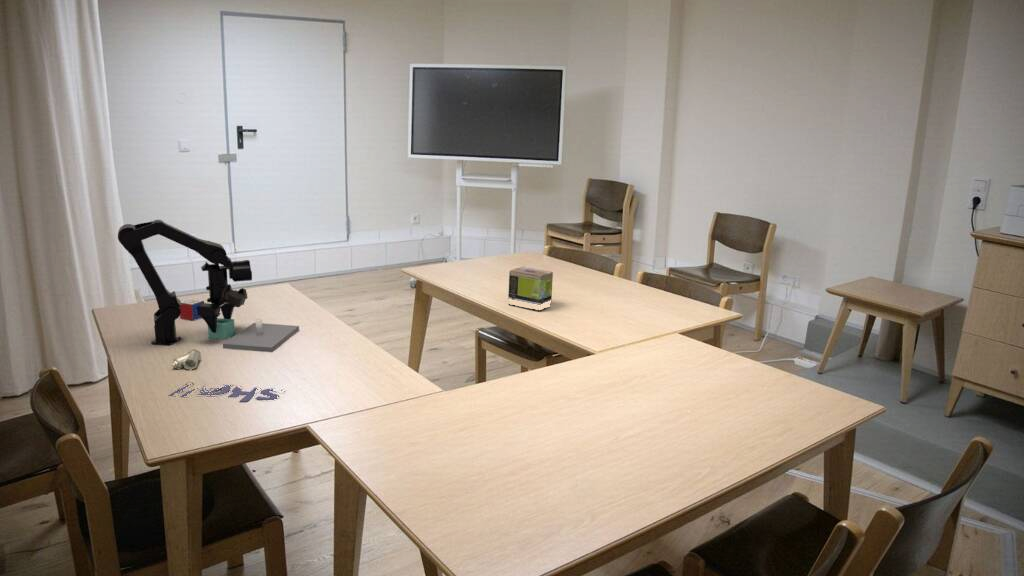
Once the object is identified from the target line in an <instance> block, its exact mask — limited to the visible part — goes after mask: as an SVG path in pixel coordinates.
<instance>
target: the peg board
mask: <svg viewBox="0 0 1024 576" xmlns="http://www.w3.org/2000/svg"><path fill="white" fill-rule="evenodd" d="M299 331H300V325H291V324H276V323H263V319H262V318H257V319H255V322H253V323H251V324H250V325H248V326H247V327H245V328H244V329H243V330H241V331H240V332H238V333H235V334H234V335H232V336H231V337H230V338H228V339H227V341H225V342H223V343H222V349H230V350H241V351H242V350H243V351H253V352H257V351H258V352H268V353H272V352H274V351H275V350H276V349H277V348H279V347H280V346H281V345H283V344H284V343H285V342H286V341H288V340H289V339H290V338H292V337H293V336H294V335H295V334H296V333H297V332H299Z"/></svg>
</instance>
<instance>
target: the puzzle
mask: <svg viewBox="0 0 1024 576" xmlns="http://www.w3.org/2000/svg"><path fill="white" fill-rule="evenodd" d="M204 303H205V300H199V299H194V298H190V299H186V300H185V301H181V306H182V307H180V309H181V314H180V316H179V318H180V319H181V318H182V320H187V319H188V320H189V321H193V320H194V321H196V320H198V318H199V319H201V316H199V315H197V311H196V308H197V307H198V306H200V305H202V304H204ZM195 319H196V320H195Z"/></svg>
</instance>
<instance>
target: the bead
mask: <svg viewBox="0 0 1024 576" xmlns="http://www.w3.org/2000/svg"><path fill="white" fill-rule="evenodd" d="M235 329H236V328H235V319H233V318H231V319H224V317H223V318H220V317H217V328H216V333H212V331H211V330H210V328H209V326H208V325H207V333H208V334H207V335H208V336H207V337H208V339H216V338H219V339H218V340H228V339H230V338H231V337H233V336H234V335H236V332H235V331H236V330H235Z"/></svg>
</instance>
